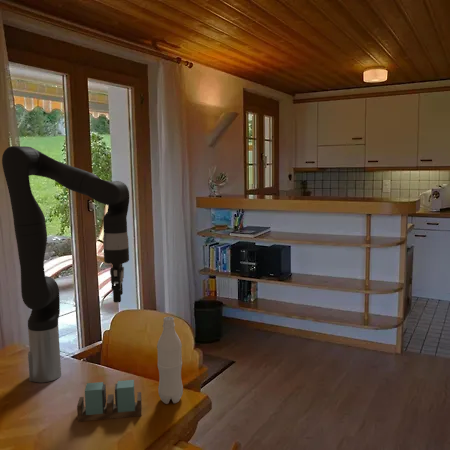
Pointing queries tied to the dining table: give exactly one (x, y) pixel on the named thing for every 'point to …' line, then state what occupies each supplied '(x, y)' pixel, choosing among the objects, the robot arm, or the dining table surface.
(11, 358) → the dining table surface
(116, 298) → the robot arm
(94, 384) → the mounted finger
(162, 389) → the water bottle
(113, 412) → the rail
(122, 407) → the teal block
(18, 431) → the dining table surface
